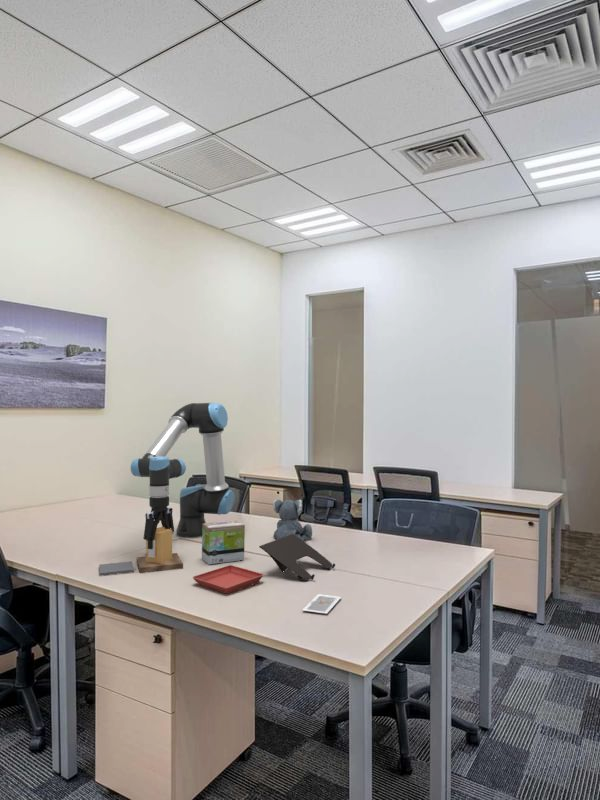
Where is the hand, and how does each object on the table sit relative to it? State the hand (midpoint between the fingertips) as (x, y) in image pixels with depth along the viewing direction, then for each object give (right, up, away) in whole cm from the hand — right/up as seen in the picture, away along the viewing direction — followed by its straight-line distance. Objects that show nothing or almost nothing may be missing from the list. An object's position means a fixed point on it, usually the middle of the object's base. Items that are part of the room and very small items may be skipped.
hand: (159, 554), depth 212 cm
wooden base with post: (0, -4, 0) cm, 4 cm away
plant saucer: (+30, -4, -23) cm, 38 cm away
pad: (-15, -4, -6) cm, 17 cm away
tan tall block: (0, -2, 0) cm, 2 cm away
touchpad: (+62, -4, -44) cm, 76 cm away
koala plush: (+51, -5, +39) cm, 64 cm away
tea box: (+24, -5, +7) cm, 26 cm away
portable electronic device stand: (+55, -4, -9) cm, 56 cm away
